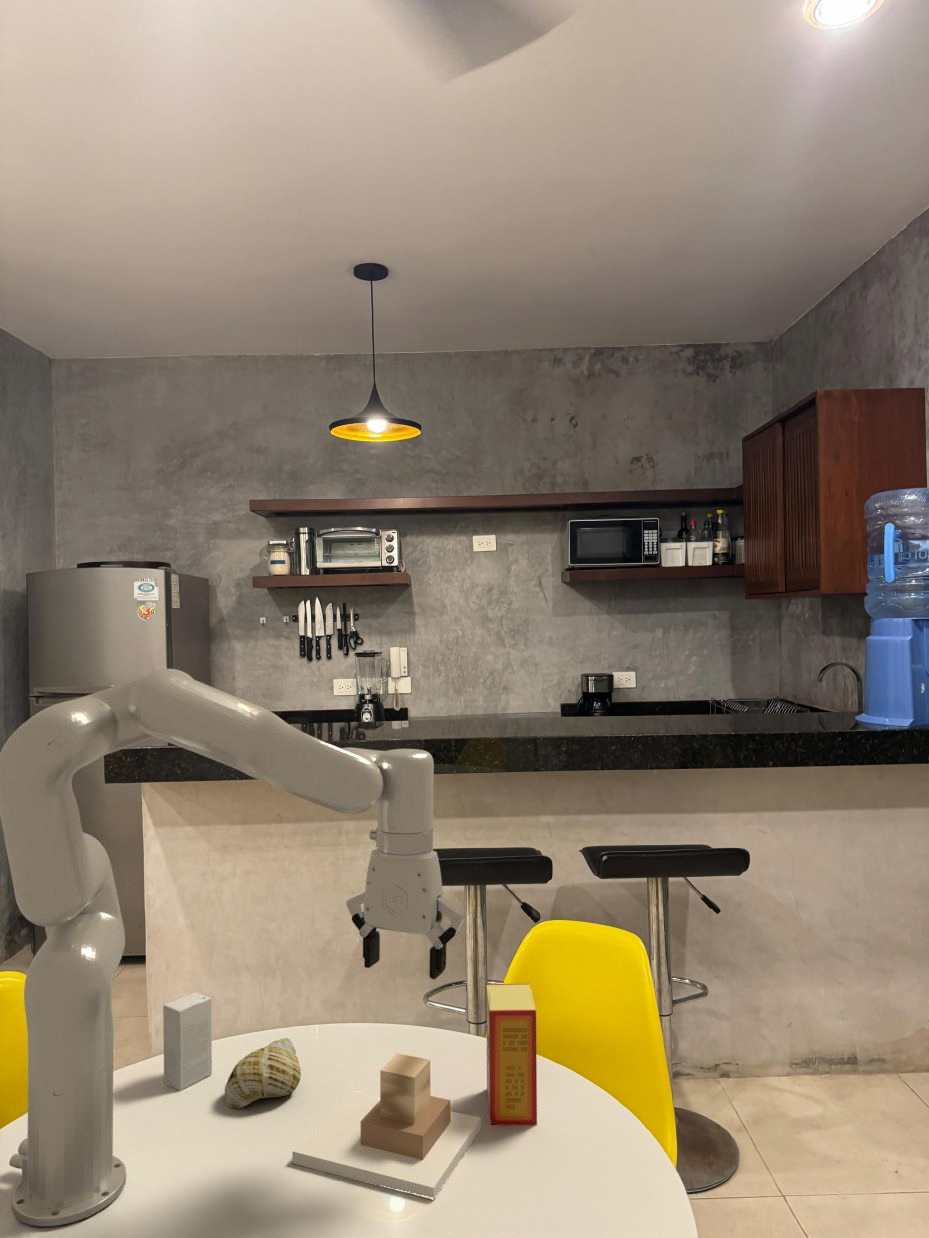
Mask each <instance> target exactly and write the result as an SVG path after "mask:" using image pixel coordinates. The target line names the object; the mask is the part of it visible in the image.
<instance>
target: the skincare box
mask: <svg viewBox="0 0 929 1238" xmlns="http://www.w3.org/2000/svg"><path fill="white" fill-rule="evenodd" d="M162 1007H163V1010H162V1011H163V1082H164V1083H163V1084H165V1085H167V1086H169V1087H172V1088H173V1089H176V1090H177V1091H179V1092H181V1091H182V1090H184V1089H187V1088H188V1087H190V1086H192V1085H193V1084H195V1083H198V1082H199V1081H201V1080H202V1081H203V1080H204V1079H205V1078H208V1077H209V1076H211V1075H212V1073H213V1072H212V1071H213V1069H212V1068H213V1066H212V1065H213V1063H212V1061H213V1060H212V1059H213V1058H212V1057H213V1055H212V1052H213V1051H212V1047H213V1045H212V1042H213V1041H212V1040H213V1039H212V1038H213V1037H212V1032H213V1031H212V998H211V997H209V996H206V995H204V994H201V993H199V992H196V991H195V992H192V993H190V994H188V995H185V996H183V997H179V998H177V999H175V1000H173V1001H169V1002H167V1003H165V1004H163V1005H162Z"/></svg>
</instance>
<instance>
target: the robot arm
mask: <svg viewBox="0 0 929 1238" xmlns="http://www.w3.org/2000/svg"><path fill="white" fill-rule="evenodd" d="M155 738H157V739H159V740H161V741H164V742H167V743H169V744H172V745H175V746H176V747H177V746H178V747H180V748H183V749H184V750H188V751H190V752H193V753H196V754H198V755H201V756H203V757H205V758H207V759H210V760H213V761H215V762H218V763H221V764H223V765H226V766H227V767H229V768H230V767H231V768H232V769H236V770H238V771H240V772H242V773H244V774H245V775H247V776H249V777H251V778H254V779H256V780H258V781H262V782H264V783H267V784H268V785H271V786H273V787H275V788H277V789H279V790H281V791H284V792H285V793H288V794H290V795H292V796H295V797H297V798H300V799H302V800H305V801H306V802H310V803H312V804H316V805H318V806H320V807H323V808H326V809H328V810H331V811H334V812H336V813H340V814H344V815H351V816H354V815H361V814H363V813H366V812H368V811H369V810H371V809H373V807H375V805H376V804H377V827H376V829H371V830H370V831H369V834H368V835H369V840H372V841H374V842H376V843H375V844H376V845H375V847H376V849H374V850H372V851H371V853H370V858H369V861H368V866H367V872H366V880H365V887H364V892H362V893H360V894H358V895H355V896H352V897H351V898H349V899H347V901H346V903H345V904H346V906H347V907H346V908H347V910H348V911H349V914H350V916H351V921H352V923H353V924H354V926H355V927H356V928H357V930H358V931H359V932H358V934H359V936H360V937H361V938H362V958H363V959H364V960H363V961H364V963H363V964H364V968H366V969H370V968H371V967H373V966H374V965H375V964H377V963H378V962H380V955H381V954H380V952H381V951H380V950H381V938H380V937H381V934H380V931H377V929H379V930H380V929H381V930H386V931H393V932H399V933H406V934H413V935H426V937H428V939H429V941H430V942H431V944H432V947H430V949H429V971H428V972H429V974H428V975H429V978H430V979H431V980H436V979H437V978H439V976H441V974H443V972H444V971H445V970H446V967H447V944H448V943H449V942H450V941H451V940H452V939H453V938H455V936H456V935H458V934H459V932H460V929H461V927H462V925H463V923H464V921H465V919H466V913H464V912H463V911H461V910H460V909H458V908H457V907H456V906H454V905H453V904H451V903H450V902H449V901H448V900H446V899H444V895H443V881H442V874H441V873H442V872H441V865H440V862H439V856H438V852H437V851H435V850H434V787H435V786H434V781H435V779H434V777H435V776H434V773H435V771H434V769H435V767H434V764H435V763H434V762H435V761H434V758H433V756H432V754H431V753H430V752H428V750H427V751H426V750H423V749H418V748H416V749H415V748H396V749H390V750H379V749H378V750H376V749H369V748H367V749H366V748H361V747H360V748H359V747H338V746H336V745H333V744H331V743H329V742H326V741H323V740H321V739H319V738H316V737H314V736H311V735H310V734H308V733H306V732H303V731H301V730H299V728H298V729H297V728H296V727H294V726H293V725H291V724H289V723H287V722H286V721H285V720H283V719H282V718H281V717H279V716H278V715H277V714H275V713H274V712H272V711H270V710H268V709H267V708H265V707H262V706H260V705H258V704H255V703H253V702H250V701H247V700H245V699H243V698H240V697H238V696H236V695H232V694H230V693H227V692H224V691H222V690H220V689H217V688H215V687H213V686H210V685H208V684H206V683H204V682H202V681H201V682H200V681H198V680H196V679H194V678H193V677H192V676H191V675H190V674H188V673H186V672H184V671H182V670H179V669H175V668H161V669H156V670H154V671H153V670H152V671H151V672H149V673H147V674H145V675H144V676H142V677H139V678H136V679H133V680H130V681H127V682H124V683H123V684H119V685H116V686H112V687H110V688H109V687H108V688H106V689H104V690H100V691H96V692H94V693H91V694H88V695H85V696H81V697H78V698H74V699H71V700H67V701H62V702H59V703H56V704H53V705H50V706H49V707H46V708H44V709H43V710H41V711H38V712H37V713H36V714H34V715H32V717H30V718H29V719H27V720H26V721H25V722H23V723H22V724H21V725H20V726H19V727H18V728H16V730H15V731H13V732H12V734H11V735H10V736H9V737H8V739H7V740H6V741H5V743H4V745H3V747H2V748H1V751H0V822H1V826H2V830H3V838H4V844H5V849H6V850H5V851H6V854H7V859H8V865H9V869H10V874H11V875H10V876H11V880H12V884H13V891H14V892H13V893H14V897H15V901H16V902H15V903H16V904H17V906H18V909H19V912H20V913H21V914H22V915H23V917H24V918H25V919H26V920H28V921H29V922H31V924H34V925H36V926H39V927H44V928H45V935H46V938H47V939H45V941H44V942H43V944H42V945H40V946H41V947H40V948H39V949H38V951H37V952H36V954H35V955H34V957H33V958H32V960H31V962H30V965H29V967H28V969H27V973H26V976H25V979H24V980H25V981H24V986H23V987H24V989H23V1002H24V1012H25V1019H26V1030H27V1076H28V1077H27V1137H26V1138H24V1139H23V1140H22V1141H21V1142H20V1144H19V1146H18V1148H17V1153H14V1154H13V1155H12V1156H11V1158H9V1167H13V1168H14V1169H20V1170H21V1182H20V1183H19V1184H18V1185H17V1187H16V1188H15V1190H14V1191H13V1195H12V1198H11V1199H12V1200H11V1201H12V1202H11V1203H12V1206H11V1209H12V1212H13V1215H14V1216H15V1218H16V1219H17V1220H19V1221H21V1222H22V1223H24V1224H28V1225H30V1226H35V1227H55V1226H63V1225H66V1224H72V1223H75V1222H78V1221H80V1220H83V1219H86V1218H88V1217H90V1216H92V1215H94V1214H96V1213H98V1212H99V1211H101V1210H104V1208H106V1207H107V1206H108V1205H109V1204H111V1203H113V1201H114V1200H115V1199H116V1198H117V1197H118V1196H119V1195H120V1194H121V1192H122V1191H123V1189H124V1187H125V1185H126V1181H127V1171H126V1170H127V1168H126V1166H125V1164H124V1162H123V1161H122V1160H121V1159H120V1158H118V1157H116V1156H114V1154H113V1153H114V1152H113V1149H114V1147H113V1145H114V1143H113V1142H114V1137H113V1136H114V1135H113V1134H114V1133H113V1132H114V1130H113V1129H114V1128H113V1127H114V1019H113V1018H114V1017H113V1016H114V1015H113V1007H112V1003H113V1002H112V993H113V992H112V990H113V989H112V987H113V981H114V977H115V975H116V972H117V971H118V966H119V965H120V962H121V960H122V958H123V955H124V950H125V947H126V934H125V933H126V931H125V927H124V922H123V916H122V912H121V907H120V902H119V898H118V892H117V887H116V883H115V877H114V873H113V867H112V864H111V861H110V857H109V855H108V852H107V851H106V850H107V849H106V848H105V847H104V846H103V845H102V843H101V842H100V841H99V840H98V839H97V838H96V837H94V836H93V835H91V834H88V833H86V832H84V830H83V828H82V823H81V816H80V809H79V806H78V802H77V799H76V796H75V793H74V790H73V786H72V781H73V777H74V775H75V773H77V772H78V771H80V769H82V768H84V767H86V766H88V765H90V764H92V763H93V762H95V761H96V760H98V759H99V758H102V757H104V756H107V755H109V754H112V753H114V752H118V751H120V750H123V749H127V748H129V747H132V746H134V745H137V744H140V743H143V742H145V741H150V740H151V739H155ZM362 905H363V911H362ZM444 916H445V917H447V918H448V919H449V920H450V923H449V925H448V928H447V929H445V927H444V926H443V924H442V922H443V917H444Z"/></svg>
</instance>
